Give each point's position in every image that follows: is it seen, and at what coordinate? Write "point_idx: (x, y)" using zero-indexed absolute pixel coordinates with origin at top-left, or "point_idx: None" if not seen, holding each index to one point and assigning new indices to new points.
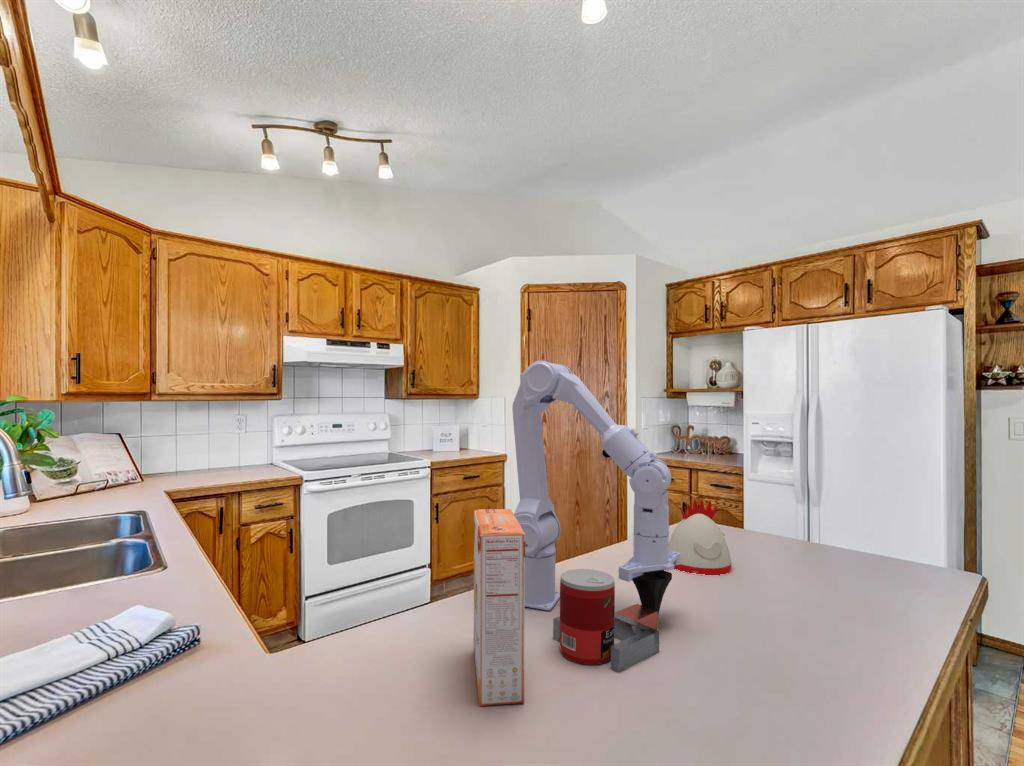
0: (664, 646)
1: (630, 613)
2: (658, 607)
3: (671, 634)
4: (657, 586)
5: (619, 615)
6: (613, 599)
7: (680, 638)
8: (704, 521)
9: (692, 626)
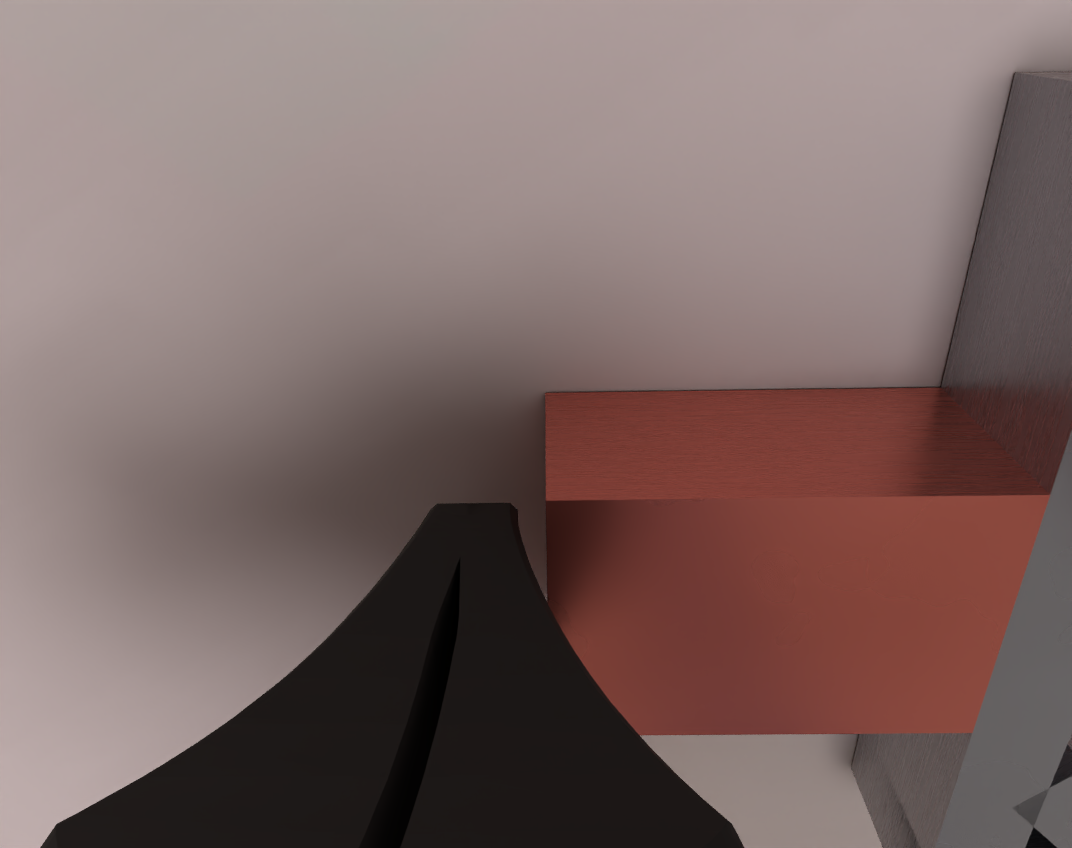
0: (839, 116)
1: (864, 636)
2: (445, 552)
3: (506, 247)
4: (600, 781)
5: (1014, 668)
6: None
7: (509, 121)
8: None
9: (119, 219)
